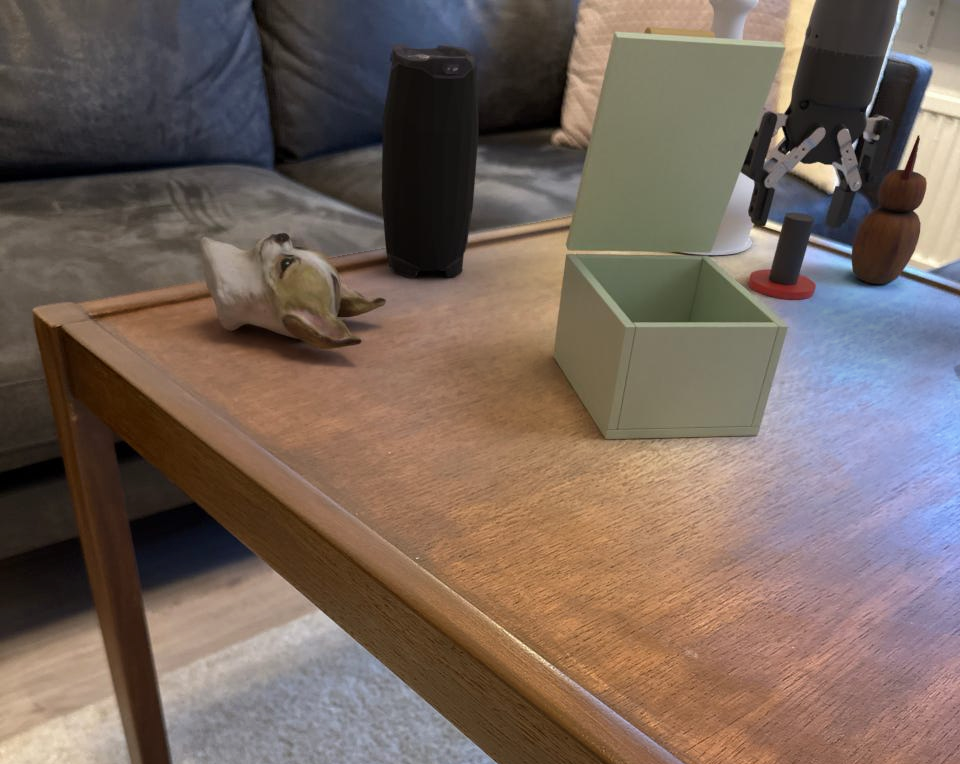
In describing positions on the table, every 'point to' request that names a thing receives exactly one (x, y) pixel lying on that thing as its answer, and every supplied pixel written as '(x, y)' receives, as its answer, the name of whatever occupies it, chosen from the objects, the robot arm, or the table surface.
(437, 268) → the portable speaker
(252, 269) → the ceramic sculpture
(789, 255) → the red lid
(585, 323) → the chest
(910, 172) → the wooden figurine
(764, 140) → the robot arm
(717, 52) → the chest lid
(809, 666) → the table surface
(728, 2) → the vase
